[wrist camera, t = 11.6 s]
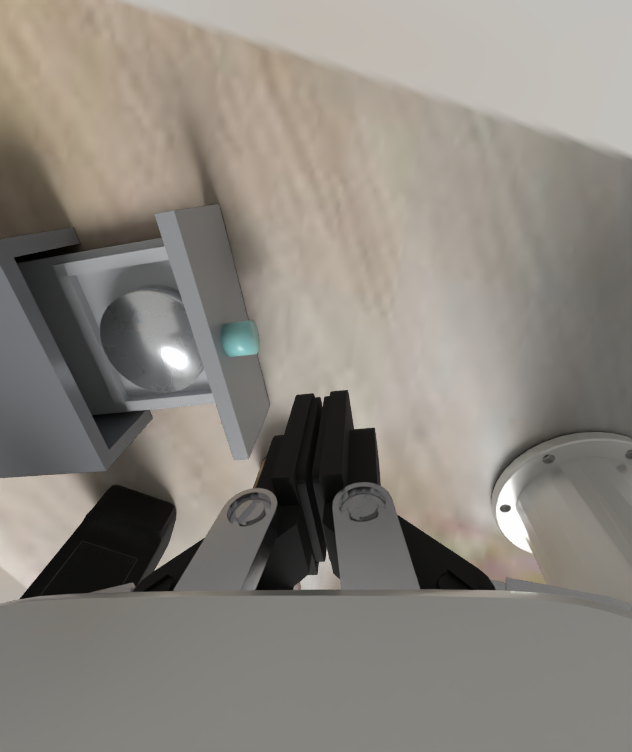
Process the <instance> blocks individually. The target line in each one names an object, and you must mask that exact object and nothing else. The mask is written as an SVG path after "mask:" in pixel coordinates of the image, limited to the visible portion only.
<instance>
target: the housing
mask: <svg viewBox="0 0 632 752" xmlns="http://www.w3.org/2000/svg"><path fill="white" fill-rule="evenodd" d="M79 243H80V242H79V240H78V237H77V235H76V232H75V230H74V228H67V229H61V230H54V231H48V232H41V233H35V234H28V235H22V236H15V237H8V238H2V239H0V478H8V477H24V476H39V475H54V474H69V473H85V472H100V471H107V470H108V468H109V467H110V466H111V465H112V464H113V463H114V462H115V461H116V459H117V458H118V457H119V456H120V455H121V454H122V453H123V451H124V450H125V449H126V448H127V447H128V446H129V445H130V444H131V442H132V441H133V440H134V439H135V438H136V437H137V436H138V434H139V433H140V432H141V431H142V430H143V429H144V428H145V427H146V425H147V424H148V423H149V422H150V421H151V420H152V419H153V418H152V416H151V413H150V411H149V410H142V411H131V412H120V413H109V414H99V415H91V413H90V411H89V409H88V407H87V405H86V403H85V401H84V399H83V397H82V395H81V393H80V391H79V389H78V387H77V385H76V382H75V380H74V378H73V376H72V374H71V372H70V370H69V368H68V366H67V364H66V362H65V360H64V358H63V356H62V354H61V352H60V350H59V348H58V346H57V344H56V342H55V340H54V338H53V336H52V334H51V332H50V330H49V328H48V326H47V324H46V322H45V320H44V318H43V316H42V314H41V312H40V310H39V308H38V306H37V304H36V302H35V300H34V298H33V296H32V294H31V292H30V290H29V288H28V286H27V284H26V282H25V280H24V278H23V276H22V274H21V272H20V270H19V268H18V265H17V263H16V261H15V259H14V257H18V256H23V255H27V254H32V253H37V252H42V251H46V250H51V249H56V248H60V247H65V246H70V245H74V244H79Z"/></svg>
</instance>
